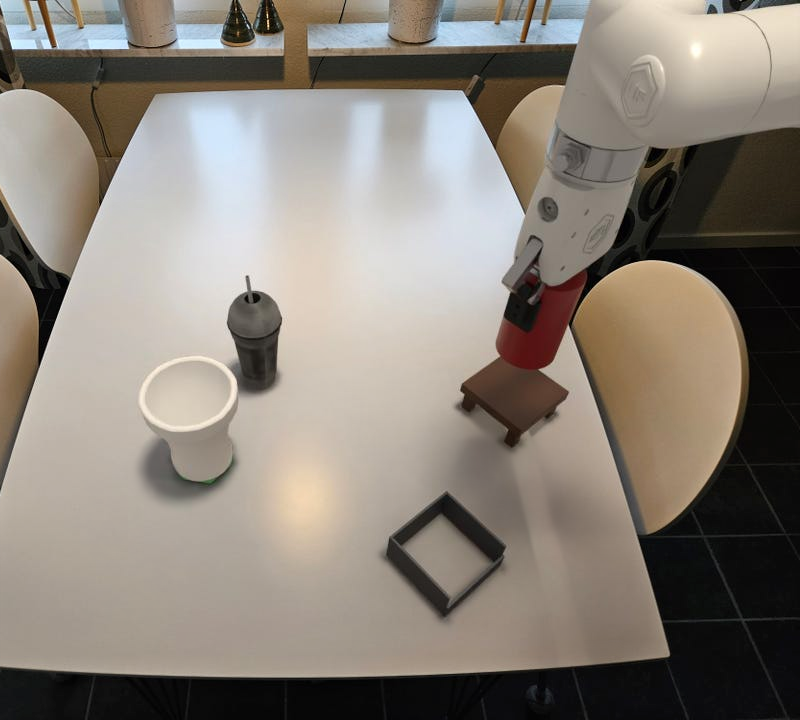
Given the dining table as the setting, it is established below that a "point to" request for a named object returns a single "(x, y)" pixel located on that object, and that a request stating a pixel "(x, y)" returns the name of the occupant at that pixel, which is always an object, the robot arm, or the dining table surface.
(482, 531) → the dark square frame
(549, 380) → the stool
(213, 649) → the dining table surface
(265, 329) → the beverage cup
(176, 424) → the cup
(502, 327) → the can
